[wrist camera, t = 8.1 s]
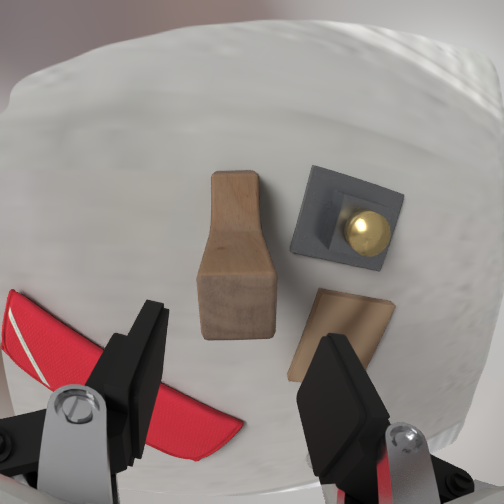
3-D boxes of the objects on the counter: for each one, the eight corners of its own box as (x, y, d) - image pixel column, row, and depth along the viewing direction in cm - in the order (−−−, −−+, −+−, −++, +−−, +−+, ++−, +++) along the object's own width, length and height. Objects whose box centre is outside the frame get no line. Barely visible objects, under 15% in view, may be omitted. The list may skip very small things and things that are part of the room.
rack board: (390, 301, 38) (395, 305, 37) (353, 379, 43) (356, 385, 41) (318, 288, 37) (322, 293, 36) (287, 374, 41) (288, 381, 40)
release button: (387, 215, 30) (396, 219, 28) (374, 254, 31) (382, 260, 29) (351, 204, 29) (358, 208, 27) (339, 245, 31) (345, 251, 29)
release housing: (401, 193, 34) (419, 199, 30) (377, 268, 37) (391, 282, 33) (312, 165, 32) (322, 166, 28) (289, 249, 35) (296, 262, 31)
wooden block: (213, 171, 32) (190, 190, 15) (255, 170, 32) (279, 189, 15) (216, 250, 35) (201, 343, 18) (256, 249, 35) (276, 340, 18)
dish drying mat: (196, 456, 48) (194, 471, 44) (6, 343, 39) (-5, 355, 35) (244, 417, 44) (244, 433, 41) (20, 279, 35) (6, 290, 32)
